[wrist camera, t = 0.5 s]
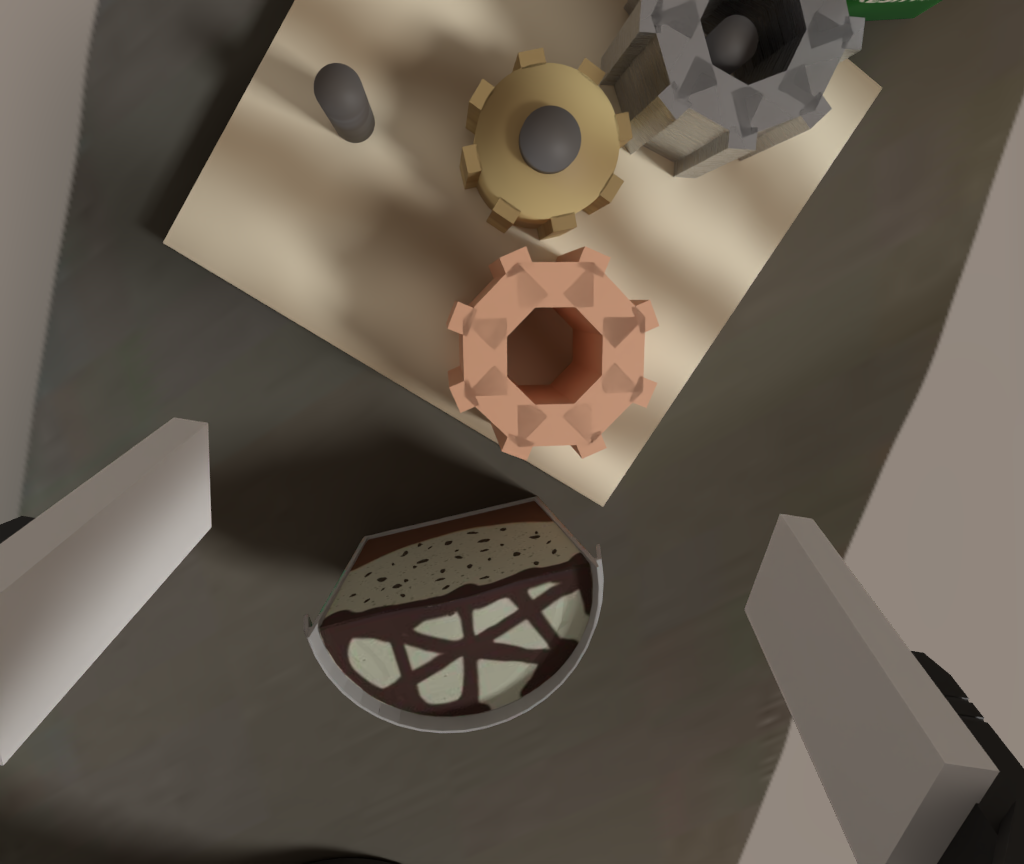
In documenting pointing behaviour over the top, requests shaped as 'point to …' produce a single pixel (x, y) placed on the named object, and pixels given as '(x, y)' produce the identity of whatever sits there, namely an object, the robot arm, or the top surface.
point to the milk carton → (888, 8)
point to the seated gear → (725, 76)
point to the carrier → (486, 193)
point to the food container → (460, 618)
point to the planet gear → (596, 352)
